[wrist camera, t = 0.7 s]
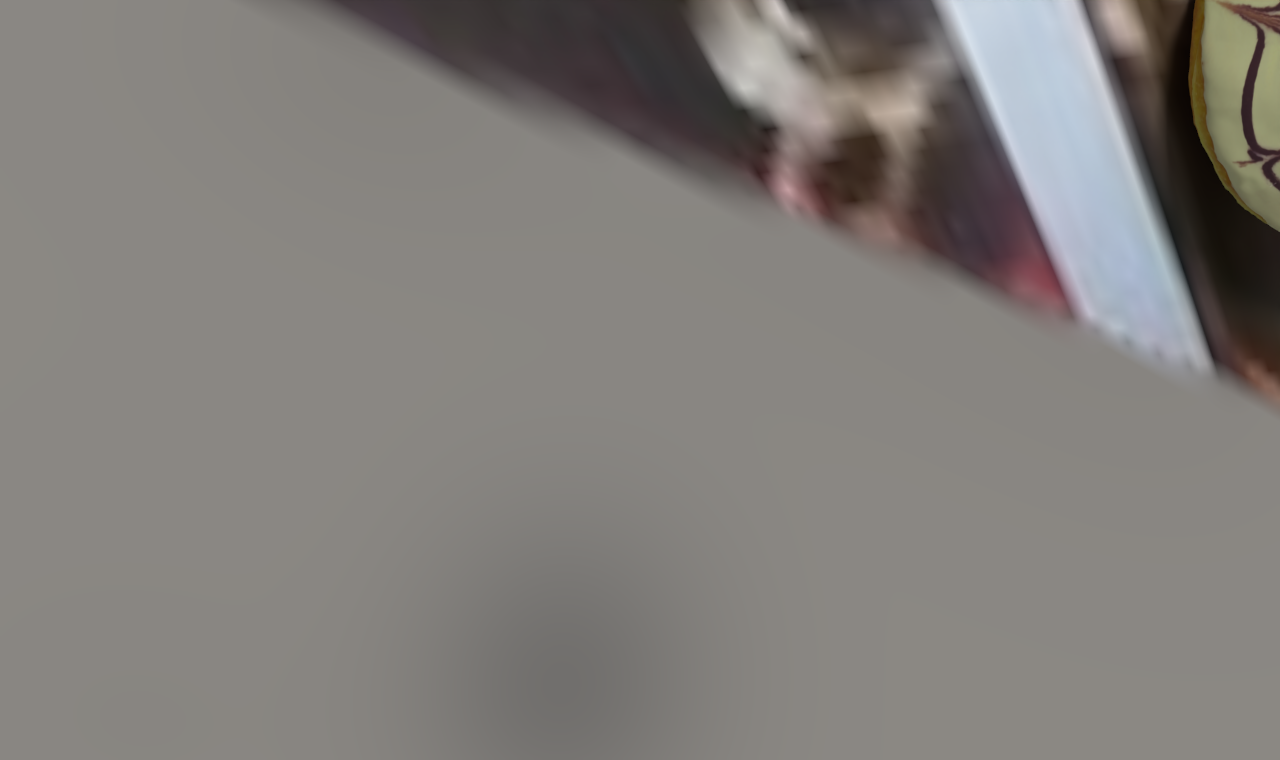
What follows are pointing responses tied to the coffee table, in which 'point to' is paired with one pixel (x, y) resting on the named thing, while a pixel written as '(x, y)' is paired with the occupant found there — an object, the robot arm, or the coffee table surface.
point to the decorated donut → (1239, 98)
